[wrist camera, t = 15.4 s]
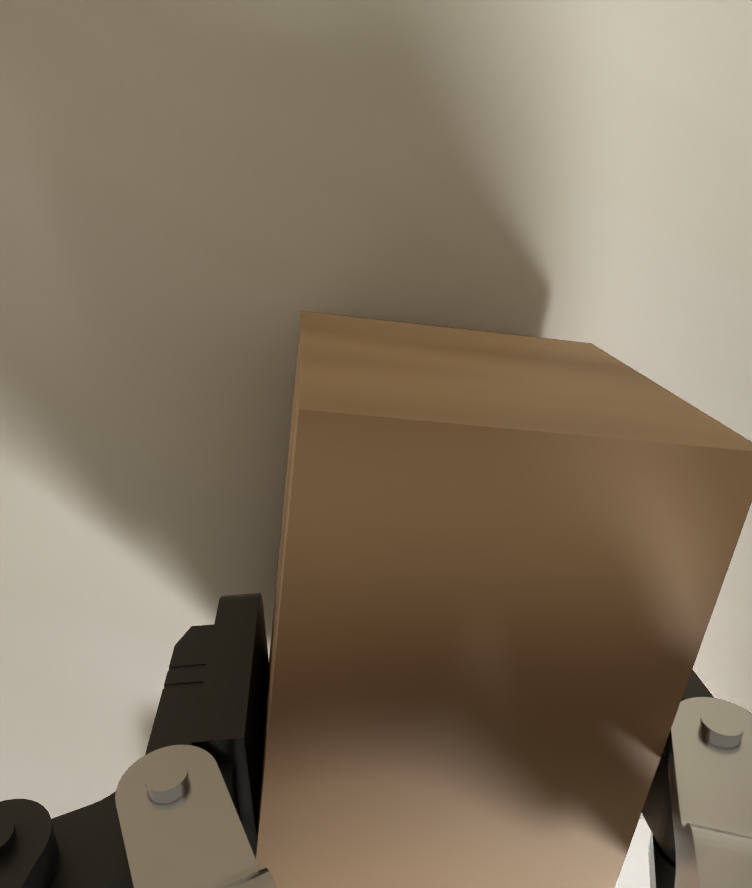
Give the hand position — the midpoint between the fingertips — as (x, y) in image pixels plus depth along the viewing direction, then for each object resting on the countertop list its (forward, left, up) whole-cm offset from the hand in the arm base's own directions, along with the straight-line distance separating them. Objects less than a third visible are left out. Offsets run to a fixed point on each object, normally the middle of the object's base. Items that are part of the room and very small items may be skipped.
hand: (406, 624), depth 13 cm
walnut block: (+2, 0, -1) cm, 2 cm away
